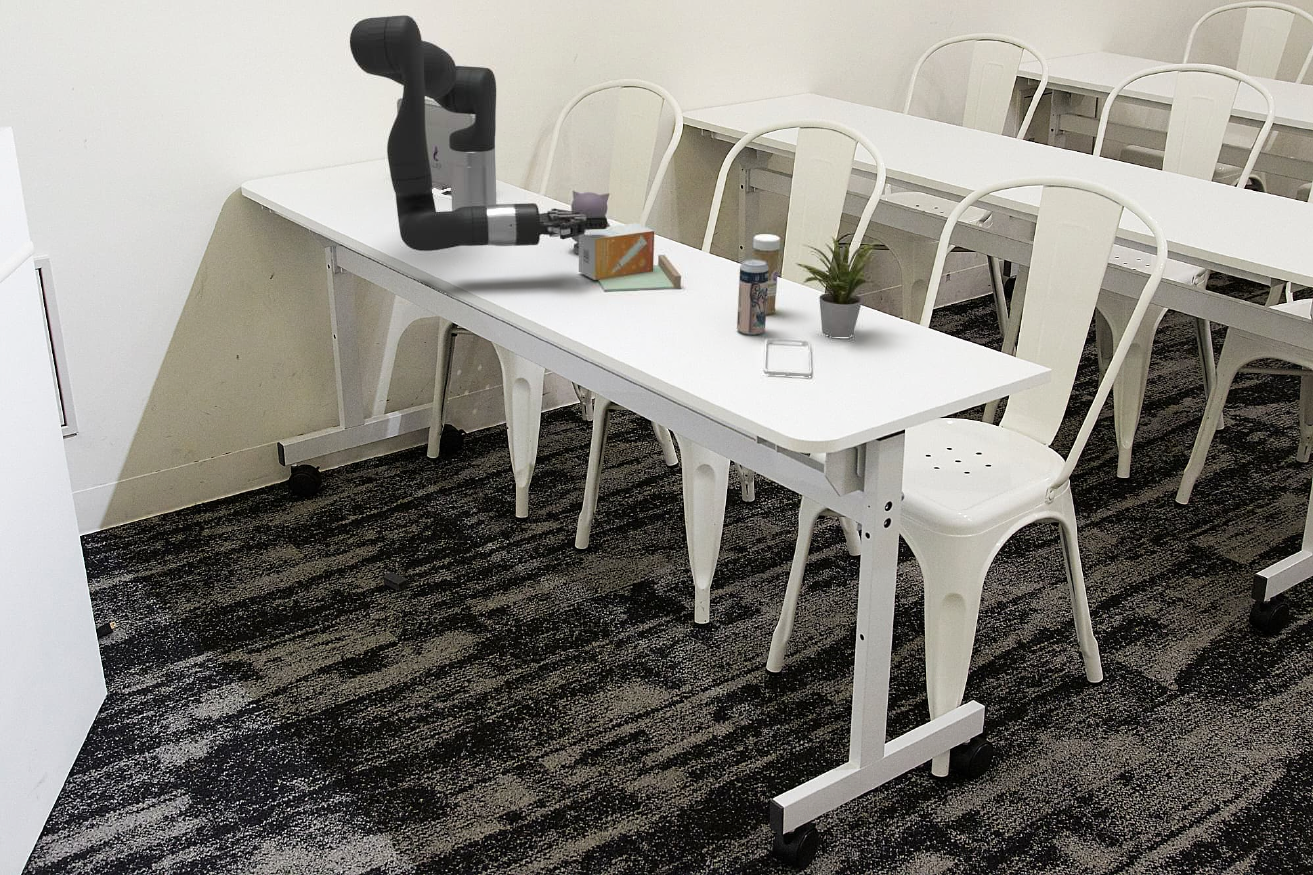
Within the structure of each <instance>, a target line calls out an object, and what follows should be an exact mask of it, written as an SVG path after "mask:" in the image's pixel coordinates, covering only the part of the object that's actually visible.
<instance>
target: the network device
mask: <svg viewBox="0 0 1313 875" xmlns="http://www.w3.org/2000/svg"><path fill="white" fill-rule="evenodd" d="M402 98H403V97H400V98H398V99H397V101H396V109H397V110H396V114H398V111H399V109H400V105H401V102H402ZM474 122H475V114H461V113H453V112H449V111H447V110H445V109H444V108H443V107H441V106H440V105H439V104H438V103H437V102H436V101H435V100H433V99H430V98H429V99H428V98H425V130H426V141H427V149H428V155H429V162H430V169H431V175H432V185H433V186H432V188H436V189H438V190H444V189H447V188H451V171H450V147H449V137H450V134H451V133H453V132H455V131H457V130H461V129H464V128H467V127H469V126H471V125H473V124H474Z"/></svg>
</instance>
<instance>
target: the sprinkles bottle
mask: <svg viewBox="0 0 1313 875" xmlns="http://www.w3.org/2000/svg"><path fill="white" fill-rule="evenodd" d="M752 242H753V245H752V247H753V259H759V260H763V261H766V263H767V266H768V268H769V275H768V291H767V307H766V316H767V315H768V316H769V315H773V314H774V313H776V301H777V300H776V299H777V298H776V296H777V292H778V291H777V288H778V287H777V286H778V274H779V273H778V270H779V269H778V264H779V252H780V247H781V238H780V237H779V236H778V235H775V234H770V233H769V234H767V233H765V234H756V235H754V237H753V241H752Z"/></svg>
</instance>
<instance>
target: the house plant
mask: <svg viewBox="0 0 1313 875" xmlns="http://www.w3.org/2000/svg"><path fill="white" fill-rule="evenodd" d="M831 238H832V239H831V240H832V242H833V243H832V244H833V248H834V249H833V248H831V247H830V245H828V244H827V243H825V245H826V247H827V248H828V249H829V251H830V253H831V255H832V257H833V260H834V261H835V264H834V263H833V262H832V261H831V260H830V258H829V257H828V256H827V255H826V254H825V253H824V252H822V251H821V250H820V249H818V248H816V247H812V246H810V245H807V244H800V245H802V246H804V247H808V248H811V249H813V251H812V250H811V252H812V253H815V254H817V255H818V256H817V258H818V259H819V260H820V261H821V262H822V263H823V264H824V266H825V267H826V268H827V270H825V271H823V270H821V269H819V268H816V267H814V266H811V265H807V264H802V263H795V264H796V265H797V266H799V267H802V268H804V269H806V270H804V269H802V271H804V272H807V273H809V274H811V275H813V276H810V277H809V276H808V277H807V278H805V279H804V281H803V282H802V284H805V283H808V282H812V281H813V282H814V281H818V282H819V284H821V285H822V286H823V287H824V288H825V289H826V291H827V292H824V293H822V294H821V295H820V296H819V297H818V298H819V299H818V300H819V309H820V318H821V319H820V321H821V331H822V332H821V334H822V333H823V334H825V335H828V336H831V337H850V336H851V335H854V333H855V328H856V325H857V321H858V318H859V315H860V311H861V306H862V304H863V303H862V302H863V298H861V296H859V295H858V294H854V291H856V289H857V288H859V287H860V286H861V285H864V284H867V283H869V281H867V279H862V277H864V276H866V275H867V276H869V274H868V273H864V272H862V271H863V270H864V269H865V268H866V266H867V265H869V264H870V263H872V261H871V260H872V259H873V258H874V257H875V256H876V254H874V255H873V256H872V257H871V258H870V259H869V260H868V261H867V262H866V263H864V262H865V261H866V260H867V258H868V257H869V255H870V254H871V252H872V251H873V249H872V247H873V246H874V245H876V244H879V242H880V241H874V242H872V243H869V244H864V245H861V246H859V247H858V248H856V250H855V251H854V253H853V254H852V257H851V258H850V257H849V256H850V243H849V241H848V242H847V243H846V247H845V246H842V249H843V250H842V252H843V254H842V255H843V256H842V257H841V249H840V245H839V243H838V241H837V240H836V239H835V237H833V236H831ZM863 247H864V248H863ZM862 248H863V249H862ZM861 249H862V250H861ZM815 251H816V252H815ZM859 251H860V252H859ZM857 254H858V255H857ZM811 255H813V256H814V254H811ZM821 255H822V257H819V256H821ZM856 255H857V257H856ZM855 257H856V259H855ZM841 258H842V259H841ZM849 259H850V260H849ZM854 259H855V260H854ZM826 262H827V263H828V264H827V263H826ZM853 262H854V264H853V266H852V263H853ZM863 263H864V264H863ZM835 265H836V266H835ZM851 266H852V268H851ZM850 268H851V270H850ZM870 283H872V284H875V285H878V282H876V281H870ZM827 287H828V288H827ZM823 334H822V335H823ZM850 338H851V337H850Z"/></svg>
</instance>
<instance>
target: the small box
mask: <svg viewBox="0 0 1313 875" xmlns="http://www.w3.org/2000/svg"><path fill="white" fill-rule="evenodd" d="M654 253H655V230H653V229H651V228H648V227H647V226H645V225H642V224H640V223H638V222H635V223H627V224H622V225H621V224H620V225H613V226H610V227H607V228H606V229H593V230H587V231H585V234H581V235H579V255H578V272H579V273H580V274H582V275H584V276H587V277H588V278H590V279H592V280H594V281H598V280H599V279H606V278H612V277H619V276H625V275H631V274H637V273H644V272H650V271H653V265H654V260H655V259H654V256H655V255H654Z"/></svg>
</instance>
